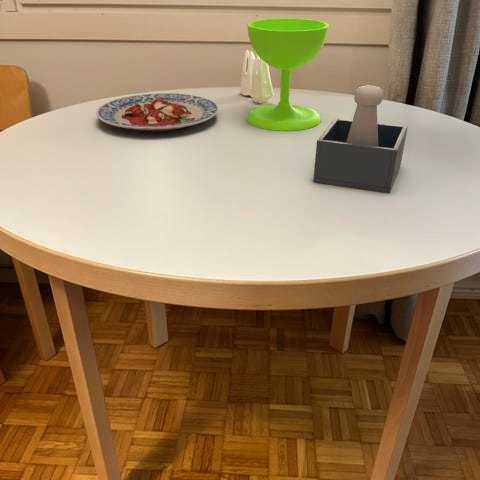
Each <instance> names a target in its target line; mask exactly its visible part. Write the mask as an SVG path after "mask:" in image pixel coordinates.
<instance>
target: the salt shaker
mask: <svg viewBox="0 0 480 480" xmlns="http://www.w3.org/2000/svg"><path fill="white" fill-rule="evenodd" d="M353 100H354V102H355V104H356V107H355V110H354V113H353V117H352V120H353V121H352V124H351V128H350V131H349V135H348V138H347V141H346V143H352V144H360V145H369V146H377V147H378V124H377V123H378V106H379V105H381V103H382V102H383V100H384V90H383V89H382V88H381V87H379V86H375V85H371V84H370V85H361V86H359V87H358V88H356V89H355V91H354V98H353Z"/></svg>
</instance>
